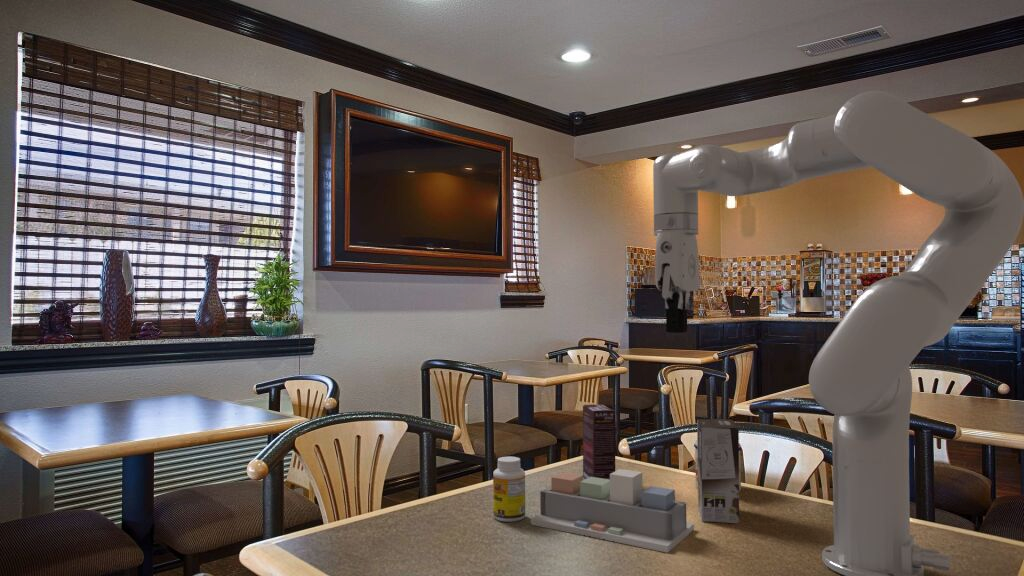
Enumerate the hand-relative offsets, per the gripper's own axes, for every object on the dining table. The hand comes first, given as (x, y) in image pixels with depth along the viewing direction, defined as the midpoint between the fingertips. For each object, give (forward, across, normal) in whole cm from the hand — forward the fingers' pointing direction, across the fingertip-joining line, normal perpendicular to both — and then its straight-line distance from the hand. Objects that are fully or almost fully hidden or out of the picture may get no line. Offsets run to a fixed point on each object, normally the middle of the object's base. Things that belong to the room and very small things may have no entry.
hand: (676, 332), depth 117 cm
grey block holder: (+32, -10, +8) cm, 35 cm away
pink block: (+30, -10, +16) cm, 35 cm away
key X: (+28, -10, +5) cm, 30 cm away
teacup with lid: (+32, +21, -1) cm, 39 cm away
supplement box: (+32, +12, +21) cm, 40 cm away
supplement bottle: (+32, -15, +25) cm, 44 cm away
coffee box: (+32, +6, -5) cm, 33 cm away
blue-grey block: (+30, -10, 0) cm, 32 cm away
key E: (+30, -10, +11) cm, 33 cm away
